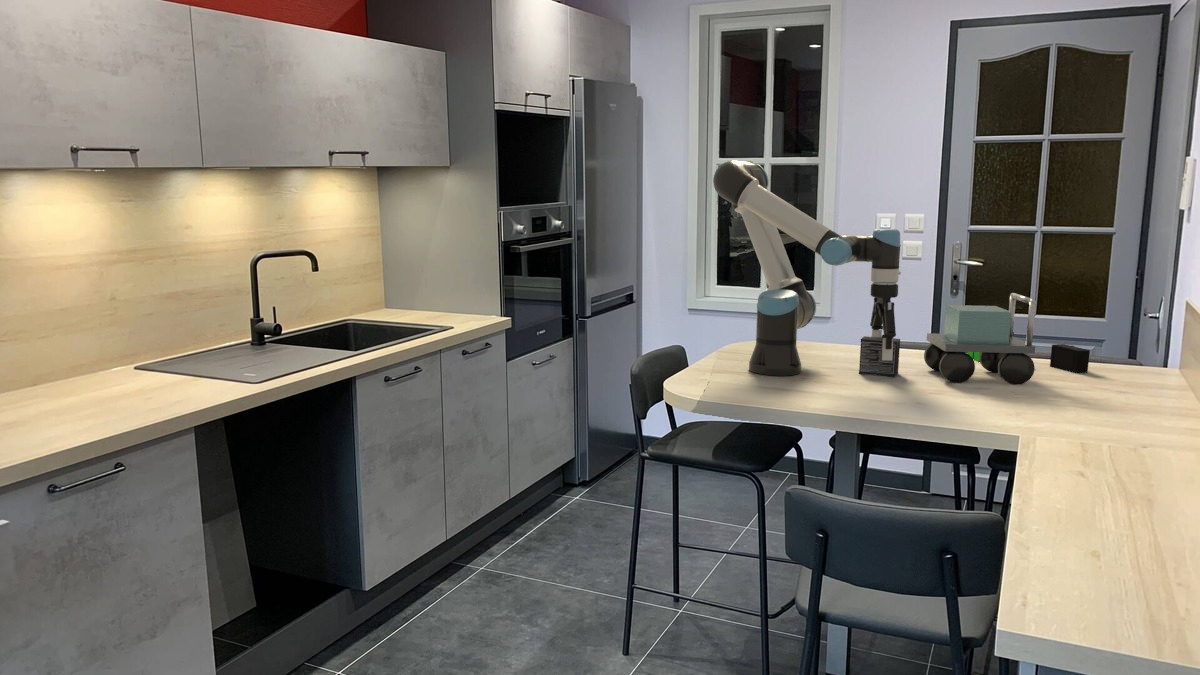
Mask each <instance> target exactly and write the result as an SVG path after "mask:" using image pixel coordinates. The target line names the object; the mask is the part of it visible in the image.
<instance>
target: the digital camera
mask: <svg viewBox="0 0 1200 675" xmlns="http://www.w3.org/2000/svg"><path fill="white" fill-rule="evenodd" d="M1090 352H1091V350H1090V349H1086V348H1082V347H1077V346H1074V345H1069V344H1064V343H1060V344H1058V343H1057V344H1051V352H1050V360H1049V361H1050V362H1049V367H1050V368H1053V367H1054V369H1057V370H1061V371H1066V372H1070V373H1073V374H1088V369H1089V362H1090V361H1089V360H1090V354H1091V353H1090Z"/></svg>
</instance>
